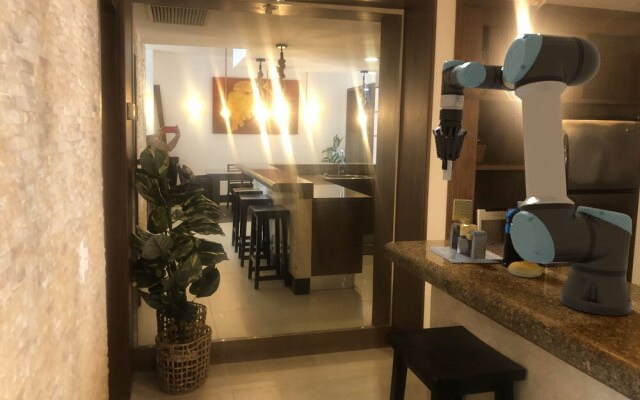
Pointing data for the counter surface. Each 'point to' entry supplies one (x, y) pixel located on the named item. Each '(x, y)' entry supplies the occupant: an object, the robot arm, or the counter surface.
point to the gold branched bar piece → (464, 217)
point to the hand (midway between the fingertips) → (446, 179)
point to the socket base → (464, 257)
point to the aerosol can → (510, 240)
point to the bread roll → (525, 269)
